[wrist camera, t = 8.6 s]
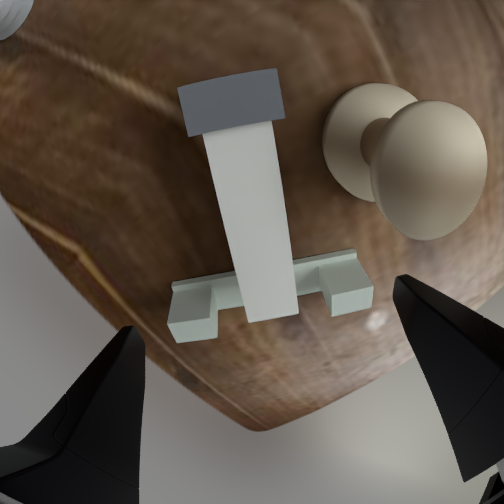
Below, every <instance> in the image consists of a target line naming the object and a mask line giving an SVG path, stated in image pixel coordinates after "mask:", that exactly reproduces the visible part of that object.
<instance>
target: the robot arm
mask: <svg viewBox="0 0 504 504" xmlns="http://www.w3.org/2000/svg"><path fill="white" fill-rule="evenodd" d="M393 301H394V304H395V306H396V309H397V312H398V314H399V317H400V320H401V323H402V325H403V328H404V331H405V334H406V336H407V338H408V341H409V343H410V345H411V347H412V349H413V351H414V353H415V356H416V358H417V360H418V362H419V364H420V366H421V369H422V371H423V373H424V375H425V378H426V380H427V382H428V385H429V387H430V389H431V392H432V394H433V397H434V399H435V401H436V404H437V406H438V409H439V411H440V414H441V417H442V419H443V422H444V424H445V427H446V430H447V433H448V436H449V439H450V442H451V444H452V447H453V450H454V453H455V456H456V459H457V463H458V466H459V469H460V472H461V476H462V478H463V481H464V482H466V481H468V480H470V479H471V478H473V477H475V476H476V475H478V474H480V473H482V472H483V471H485V470H487V469H488V468H490V467H491V466H493V465H494V464H496V465H497V468H498V470H499V471H498V472H497V473H496V474H494V475H493V476H492V477H490V479H489V482H488V484H487V487H486V489H485V492H484V494H483V496H482V499H481V501H480V503H479V504H504V328H503V327H501V326H499V325H497V324H495V323H494V322H492V321H490V320H489V319H487V318H484V317H483V316H482V315H480V314H478V313H476V312H475V311H473V310H471V309H470V308H468V307H466V306H464V305H463V304H461V303H459V302H457V301H456V300H454V299H452V298H450V297H448V296H447V295H445V294H443V293H441V292H439V291H437V290H436V289H434V288H432V287H430V286H428V285H426V284H425V283H423V282H421V281H419V280H417V279H415V278H413V277H411V276H410V275H407V274H404V275H400V276H397V277H396V278H395V283H394V289H393ZM144 391H145V343H144V340H143V338H142V337H141V335H140V334H139V332H138V330H137V328H136V327H135V326H125V327H123V328H122V329H121V330H120V331H119V332H118V333H117V334H116V335H115V336H114V337H113V339H112V340H111V341H110V342H109V343H108V344H107V345H106V347H105V348H104V349H103V350H102V351H101V352H100V353H99V355H98V356H97V357H96V358H95V359H94V360H93V361H92V362H91V364H90V365H89V366H88V367H87V368H86V370H85V371H84V372H83V373H82V374H81V375H80V376H79V377H78V379H77V380H76V381H75V382H74V383H73V385H72V386H71V387H70V388H69V389H68V391H67V392H66V394H64V395H63V396H62V398H61V399H60V400H59V401H58V402H57V404H56V405H55V406H54V407H53V408H52V409H51V410H50V412H49V413H48V414H47V415H46V416H45V417H44V418H43V419H42V420H41V421H40V422H39V423H38V424H37V425H36V426H35V427H34V428H33V429H32V430H31V431H30V432H29V433H28V435H27V436H26V437H25V438H23V439H22V440H21V441H20V442H18V443H16V444H13V445H9V446H4V447H0V504H139V489H138V488H139V466H140V465H139V464H140V441H141V427H142V413H143V401H144Z"/></svg>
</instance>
